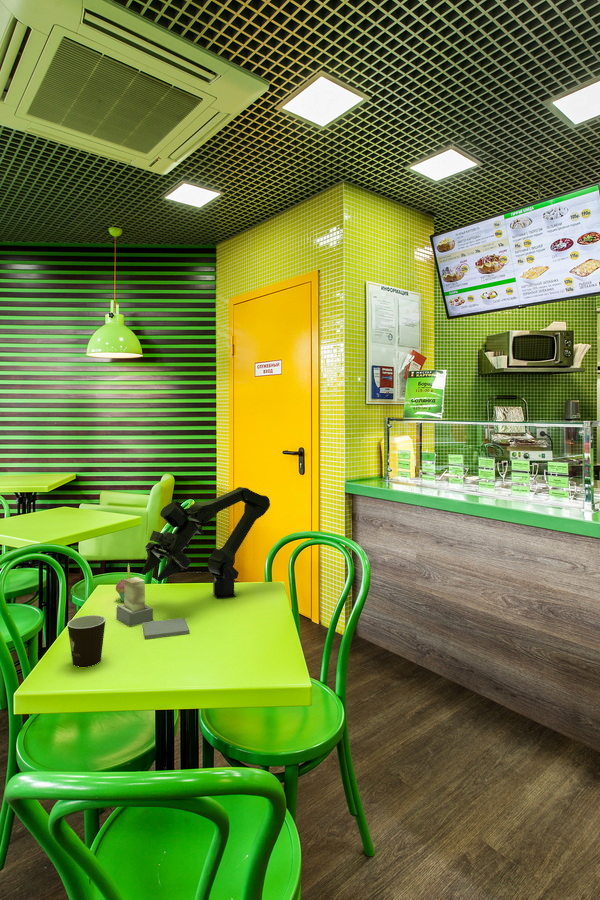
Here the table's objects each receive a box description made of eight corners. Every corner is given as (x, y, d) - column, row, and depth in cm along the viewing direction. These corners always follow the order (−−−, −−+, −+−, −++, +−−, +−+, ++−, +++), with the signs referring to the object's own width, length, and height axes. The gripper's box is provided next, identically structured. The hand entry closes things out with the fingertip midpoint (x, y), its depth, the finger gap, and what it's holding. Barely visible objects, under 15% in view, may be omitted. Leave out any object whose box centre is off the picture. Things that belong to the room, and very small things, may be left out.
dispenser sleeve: (139, 612, 161) (139, 599, 161) (152, 620, 155) (152, 605, 155) (116, 618, 156) (116, 604, 155) (129, 626, 150) (129, 611, 149)
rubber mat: (184, 621, 154) (184, 617, 154) (189, 633, 145) (189, 630, 145) (142, 625, 150) (142, 622, 150) (144, 639, 141) (144, 635, 141)
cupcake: (114, 597, 175) (114, 562, 174) (140, 594, 178) (140, 560, 178) (117, 605, 167) (116, 568, 167) (144, 602, 171) (144, 566, 170)
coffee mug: (104, 667, 124) (104, 626, 124) (65, 671, 122) (64, 630, 121) (107, 647, 135) (107, 609, 135) (72, 651, 133) (71, 612, 133)
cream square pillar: (136, 615, 158) (136, 576, 158) (144, 620, 155) (144, 580, 154) (124, 619, 156) (124, 579, 155) (132, 623, 152) (132, 583, 152)
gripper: (150, 517, 168) (118, 556, 161) (182, 525, 155) (148, 568, 147) (172, 537, 174) (141, 576, 167) (204, 547, 161) (172, 589, 153)
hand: (150, 577), depth 158 cm, fingers open, 9 cm apart
